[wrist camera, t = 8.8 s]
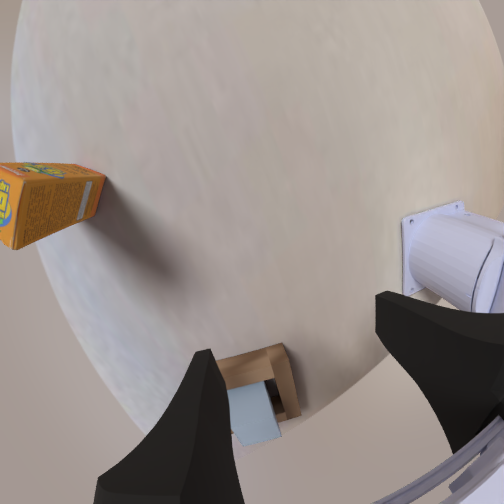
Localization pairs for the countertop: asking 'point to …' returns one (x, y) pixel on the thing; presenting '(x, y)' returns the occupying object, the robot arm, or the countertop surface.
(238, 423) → the peg
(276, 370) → the walnut holder
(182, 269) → the countertop surface
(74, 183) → the supplement box
